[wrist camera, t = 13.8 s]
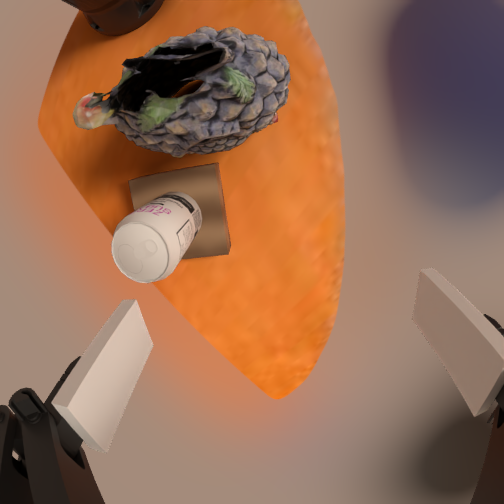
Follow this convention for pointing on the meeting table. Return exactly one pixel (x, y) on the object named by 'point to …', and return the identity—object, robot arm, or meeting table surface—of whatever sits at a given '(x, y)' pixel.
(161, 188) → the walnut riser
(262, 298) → the meeting table surface
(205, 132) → the decorative house
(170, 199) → the supplement can
